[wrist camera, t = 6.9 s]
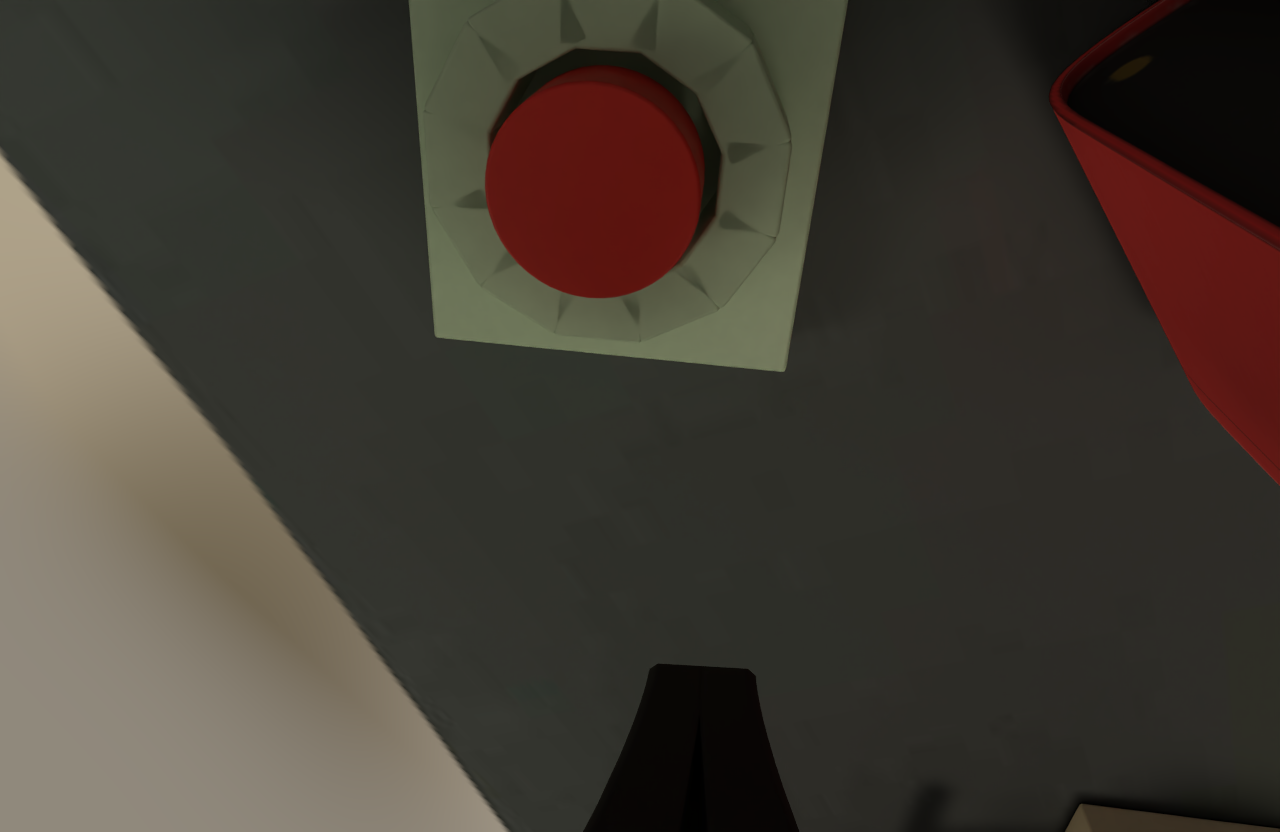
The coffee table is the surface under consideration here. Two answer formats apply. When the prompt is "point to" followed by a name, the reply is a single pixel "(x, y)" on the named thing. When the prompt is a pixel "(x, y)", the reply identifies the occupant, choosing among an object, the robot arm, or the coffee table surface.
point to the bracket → (1148, 822)
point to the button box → (733, 155)
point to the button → (596, 182)
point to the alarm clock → (1195, 190)
